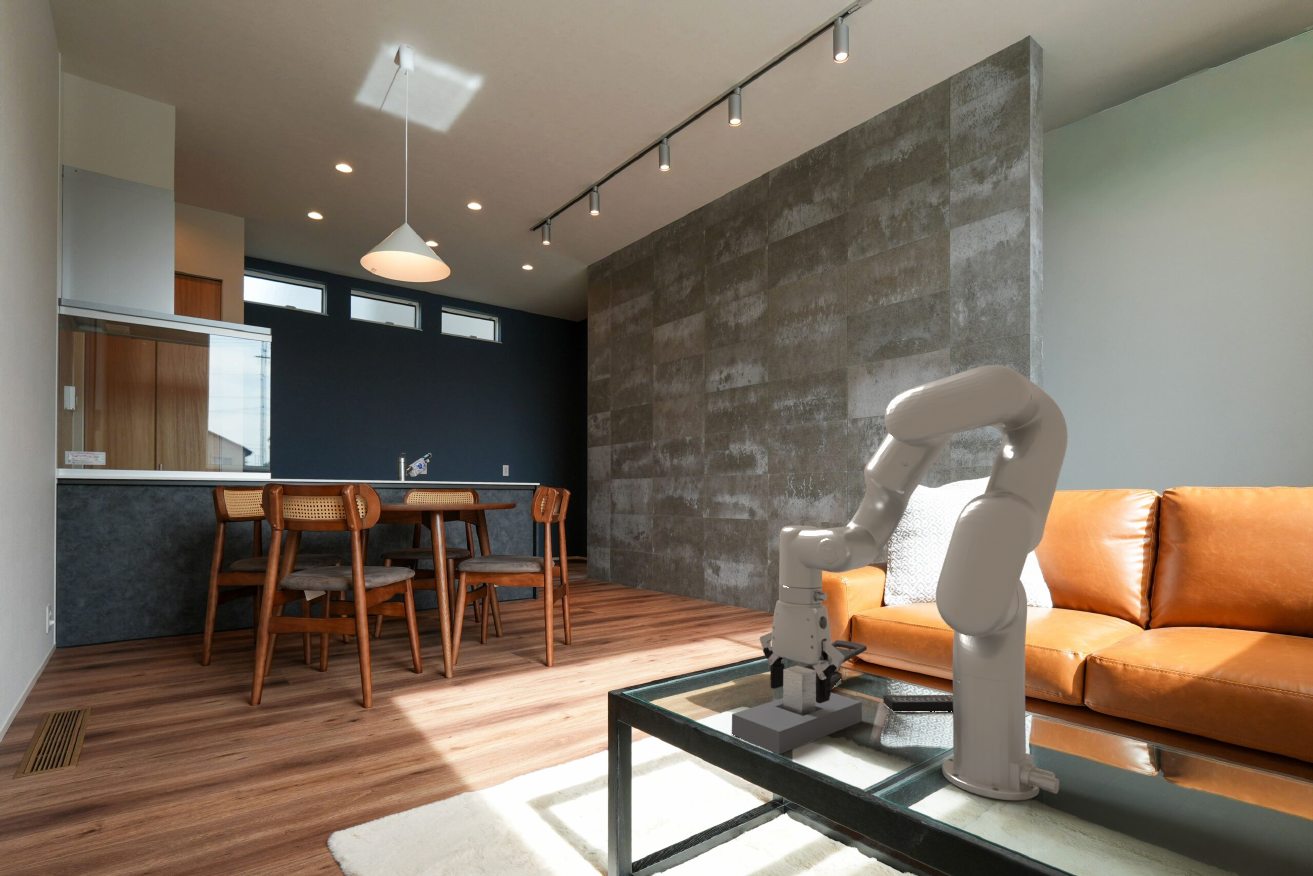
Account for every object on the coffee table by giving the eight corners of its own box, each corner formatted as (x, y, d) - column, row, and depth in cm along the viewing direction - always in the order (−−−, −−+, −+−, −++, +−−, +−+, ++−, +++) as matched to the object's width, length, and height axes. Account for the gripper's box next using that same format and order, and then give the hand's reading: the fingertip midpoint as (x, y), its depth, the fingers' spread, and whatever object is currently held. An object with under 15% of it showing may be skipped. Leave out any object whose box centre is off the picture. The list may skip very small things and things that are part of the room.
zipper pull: (870, 645, 149) (815, 665, 131) (870, 675, 149) (814, 698, 131) (835, 638, 155) (777, 656, 137) (835, 666, 155) (777, 688, 137)
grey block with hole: (861, 721, 118) (861, 701, 118) (779, 754, 102) (779, 731, 103) (815, 706, 126) (815, 687, 126) (731, 735, 110) (732, 714, 110)
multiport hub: (882, 707, 128) (882, 695, 128) (952, 706, 129) (952, 694, 129) (892, 715, 123) (892, 702, 124) (965, 714, 125) (965, 701, 125)
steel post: (815, 729, 114) (815, 670, 115) (801, 734, 111) (802, 674, 112) (796, 722, 117) (797, 665, 118) (782, 727, 114) (783, 669, 115)
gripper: (855, 600, 112) (854, 703, 110) (775, 587, 125) (773, 678, 123) (830, 605, 107) (829, 712, 106) (749, 590, 120) (747, 686, 119)
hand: (799, 694), depth 115 cm, fingers open, 9 cm apart
